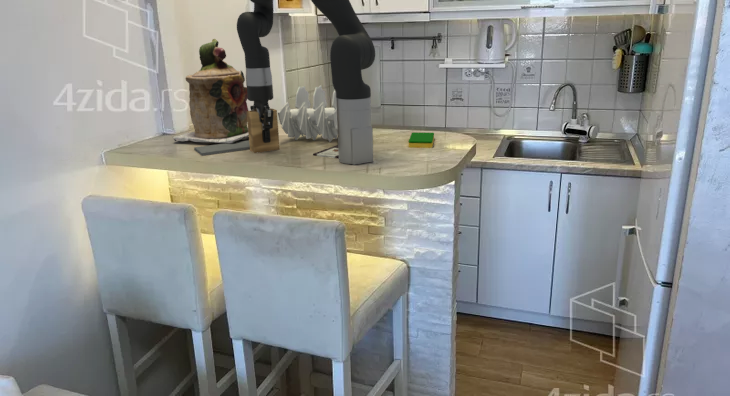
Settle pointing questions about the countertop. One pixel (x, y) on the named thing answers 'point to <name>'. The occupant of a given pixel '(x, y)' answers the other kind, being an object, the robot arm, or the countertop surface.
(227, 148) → the rubber mat
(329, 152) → the chocolate bar
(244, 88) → the cookie jar
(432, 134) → the dish sponge
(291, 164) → the countertop surface
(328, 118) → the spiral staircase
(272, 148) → the tall wooden block
